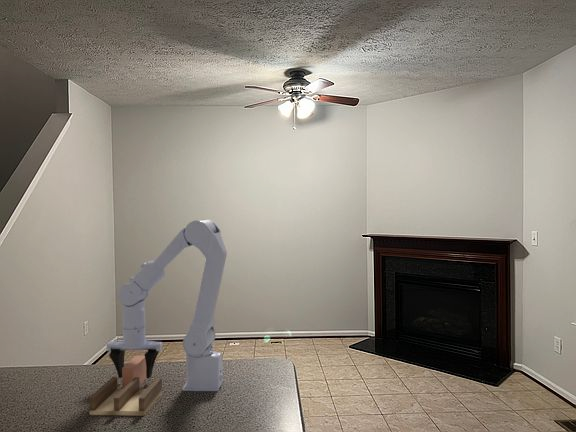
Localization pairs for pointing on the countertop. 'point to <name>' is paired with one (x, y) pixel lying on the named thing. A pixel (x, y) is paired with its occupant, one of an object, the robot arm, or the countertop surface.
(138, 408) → the book rack
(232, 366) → the countertop surface
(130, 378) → the book
